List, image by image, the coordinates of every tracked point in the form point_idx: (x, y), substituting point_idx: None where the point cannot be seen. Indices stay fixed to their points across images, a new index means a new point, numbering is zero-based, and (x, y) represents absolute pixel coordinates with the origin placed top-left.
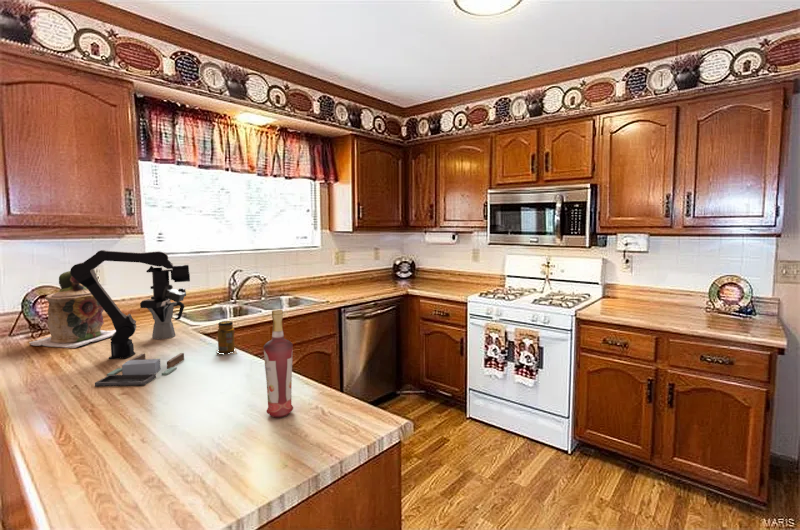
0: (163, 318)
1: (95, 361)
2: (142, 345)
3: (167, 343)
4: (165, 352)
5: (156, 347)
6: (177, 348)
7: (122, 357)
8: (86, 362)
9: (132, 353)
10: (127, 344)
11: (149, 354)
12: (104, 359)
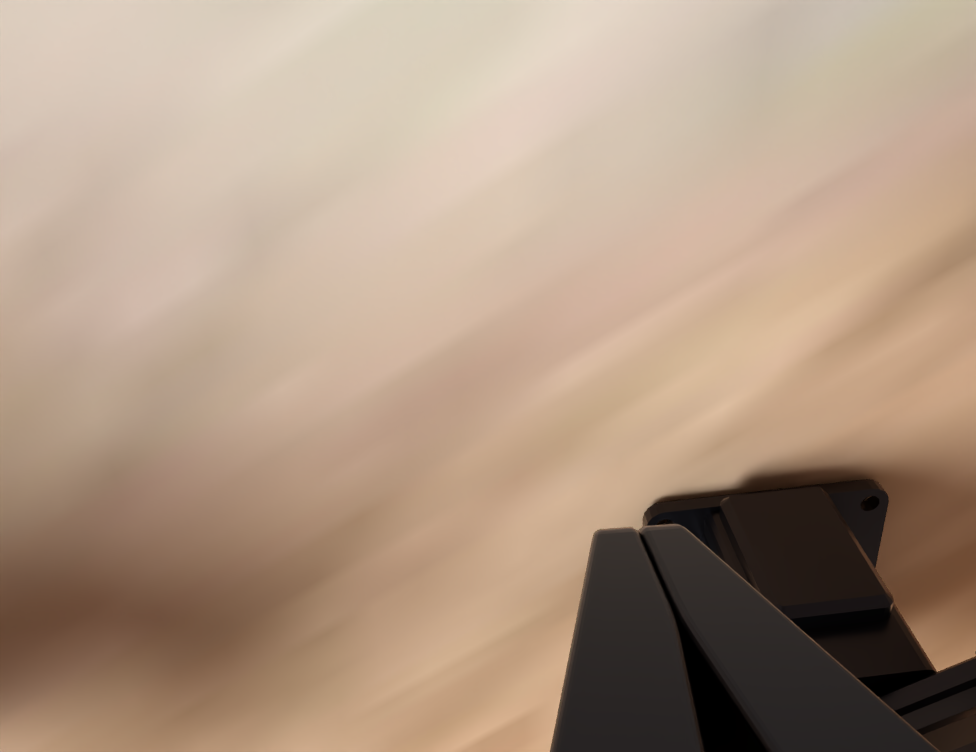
0: (787, 621)
1: None
2: (235, 655)
3: (35, 406)
4: (585, 98)
5: (298, 430)
6: (301, 16)
7: (882, 521)
8: None
9: (765, 498)
10: (901, 628)
11: (691, 300)
12: None
